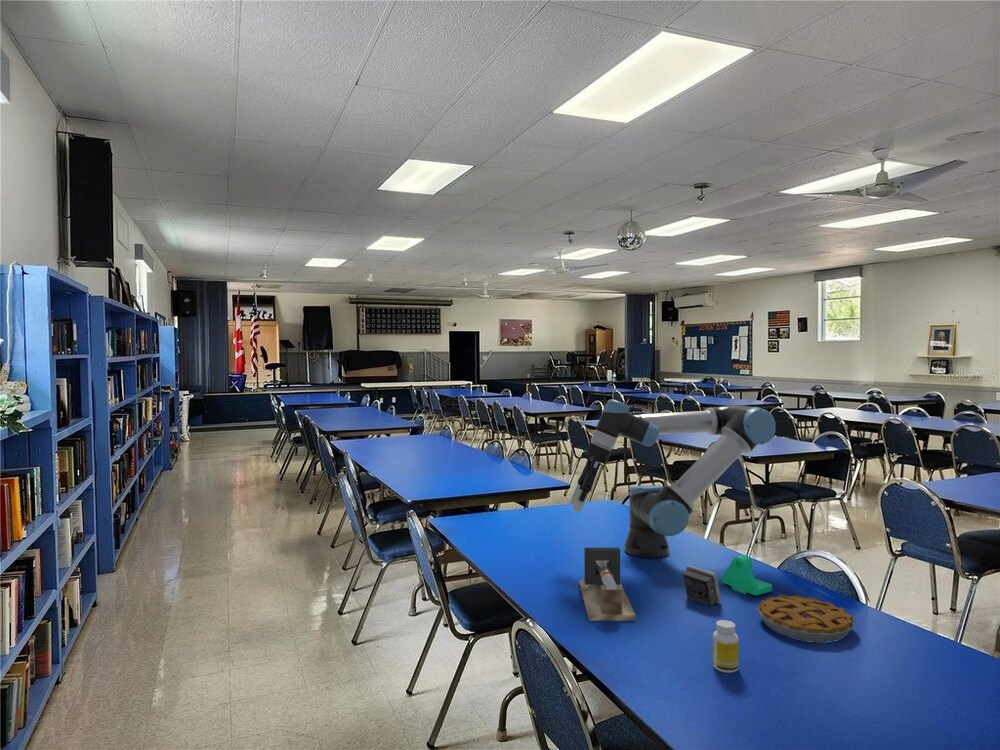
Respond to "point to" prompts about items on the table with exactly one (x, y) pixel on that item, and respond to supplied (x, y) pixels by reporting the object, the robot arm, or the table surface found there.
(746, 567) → the camera mount
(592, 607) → the pipe stand
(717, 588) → the electrical switch
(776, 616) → the pie
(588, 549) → the collar
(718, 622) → the supplement bottle
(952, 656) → the table surface
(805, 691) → the table surface
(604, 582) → the pipe
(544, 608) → the table surface
